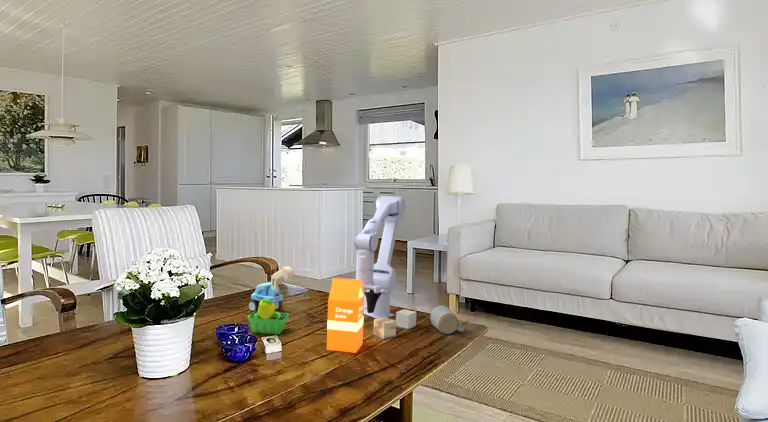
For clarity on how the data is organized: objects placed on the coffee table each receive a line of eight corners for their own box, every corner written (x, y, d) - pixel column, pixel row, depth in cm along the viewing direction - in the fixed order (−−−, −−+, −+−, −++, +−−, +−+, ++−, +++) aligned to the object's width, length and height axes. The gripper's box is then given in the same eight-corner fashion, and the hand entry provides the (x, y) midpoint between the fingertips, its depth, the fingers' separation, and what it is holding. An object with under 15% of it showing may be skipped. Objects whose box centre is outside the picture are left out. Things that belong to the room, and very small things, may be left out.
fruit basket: (289, 328, 152) (290, 293, 151) (280, 337, 143) (281, 300, 142) (255, 326, 153) (255, 291, 152) (244, 334, 144) (245, 298, 143)
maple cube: (373, 335, 148) (373, 319, 148) (385, 332, 151) (385, 317, 151) (383, 339, 144) (384, 323, 144) (395, 336, 148) (396, 320, 147)
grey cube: (395, 326, 157) (396, 312, 157) (403, 323, 161) (403, 309, 161) (408, 330, 155) (408, 315, 154) (415, 326, 159) (416, 311, 158)
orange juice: (356, 352, 132) (358, 282, 131) (326, 349, 134) (328, 280, 133) (362, 343, 140) (365, 277, 139) (334, 340, 142) (336, 275, 140)
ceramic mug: (438, 335, 149) (439, 312, 149) (429, 327, 157) (430, 305, 157) (468, 334, 152) (470, 311, 152) (458, 327, 160) (459, 304, 160)
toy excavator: (280, 318, 162) (281, 269, 161) (245, 310, 170) (246, 263, 169) (297, 313, 169) (298, 266, 168) (262, 305, 177) (263, 260, 176)
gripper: (342, 267, 158) (340, 306, 159) (369, 274, 147) (367, 317, 148) (358, 265, 163) (357, 304, 163) (386, 272, 152) (384, 313, 152)
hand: (363, 310), depth 156 cm, fingers open, 7 cm apart
